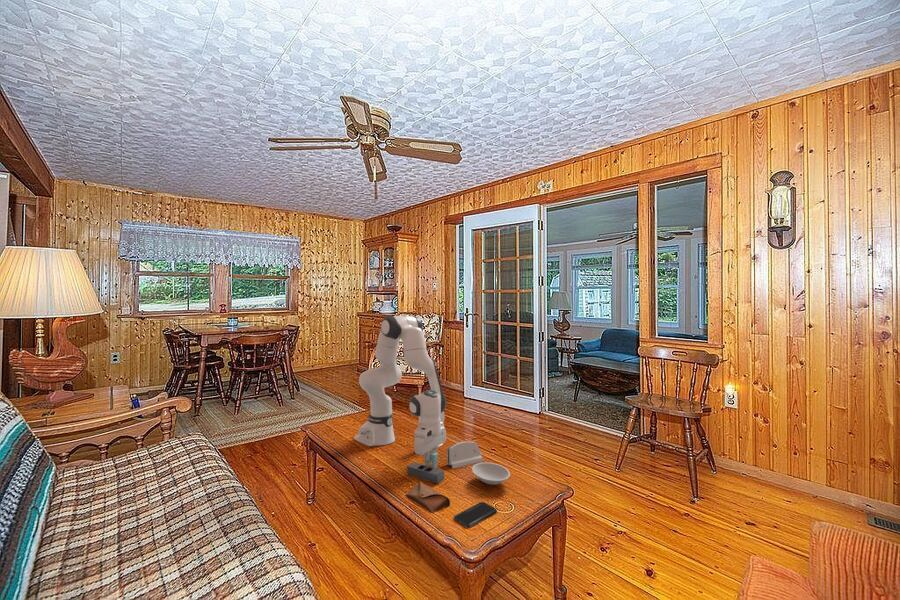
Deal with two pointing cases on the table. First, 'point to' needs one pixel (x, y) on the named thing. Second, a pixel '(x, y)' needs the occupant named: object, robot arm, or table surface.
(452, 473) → the table surface
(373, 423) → the robot arm
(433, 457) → the pale teal plug block
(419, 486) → the sunglasses case
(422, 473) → the grey rectangular block
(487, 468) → the dish
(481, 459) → the napkin holder
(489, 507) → the phone
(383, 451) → the table surface
